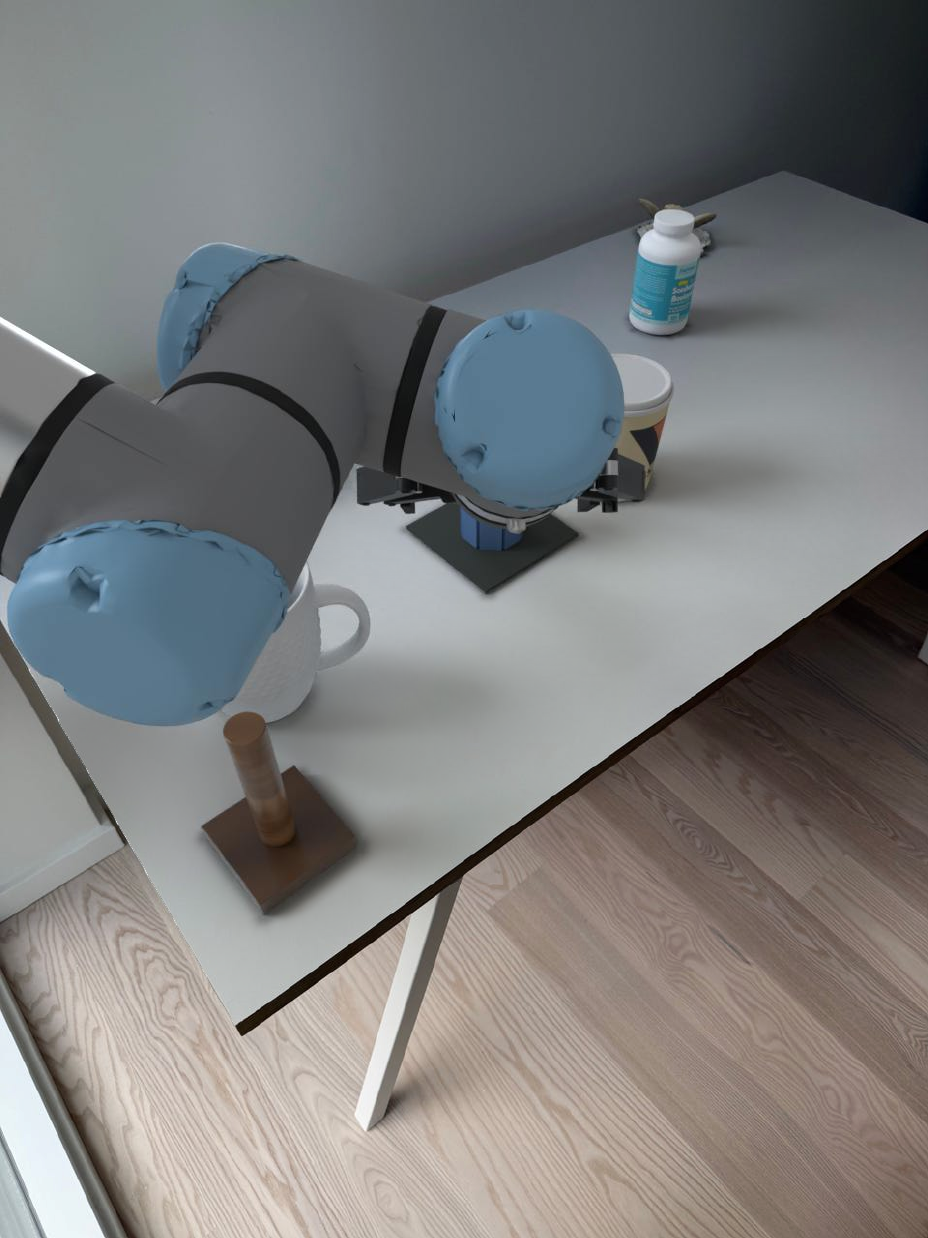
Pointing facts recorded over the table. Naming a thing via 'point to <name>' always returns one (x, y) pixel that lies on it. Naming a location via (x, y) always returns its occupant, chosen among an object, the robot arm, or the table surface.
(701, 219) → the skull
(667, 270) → the pill bottle
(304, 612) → the mug
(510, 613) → the table surface
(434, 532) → the mat
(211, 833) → the dowel stand
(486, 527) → the sleeve
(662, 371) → the cream lidded canister
